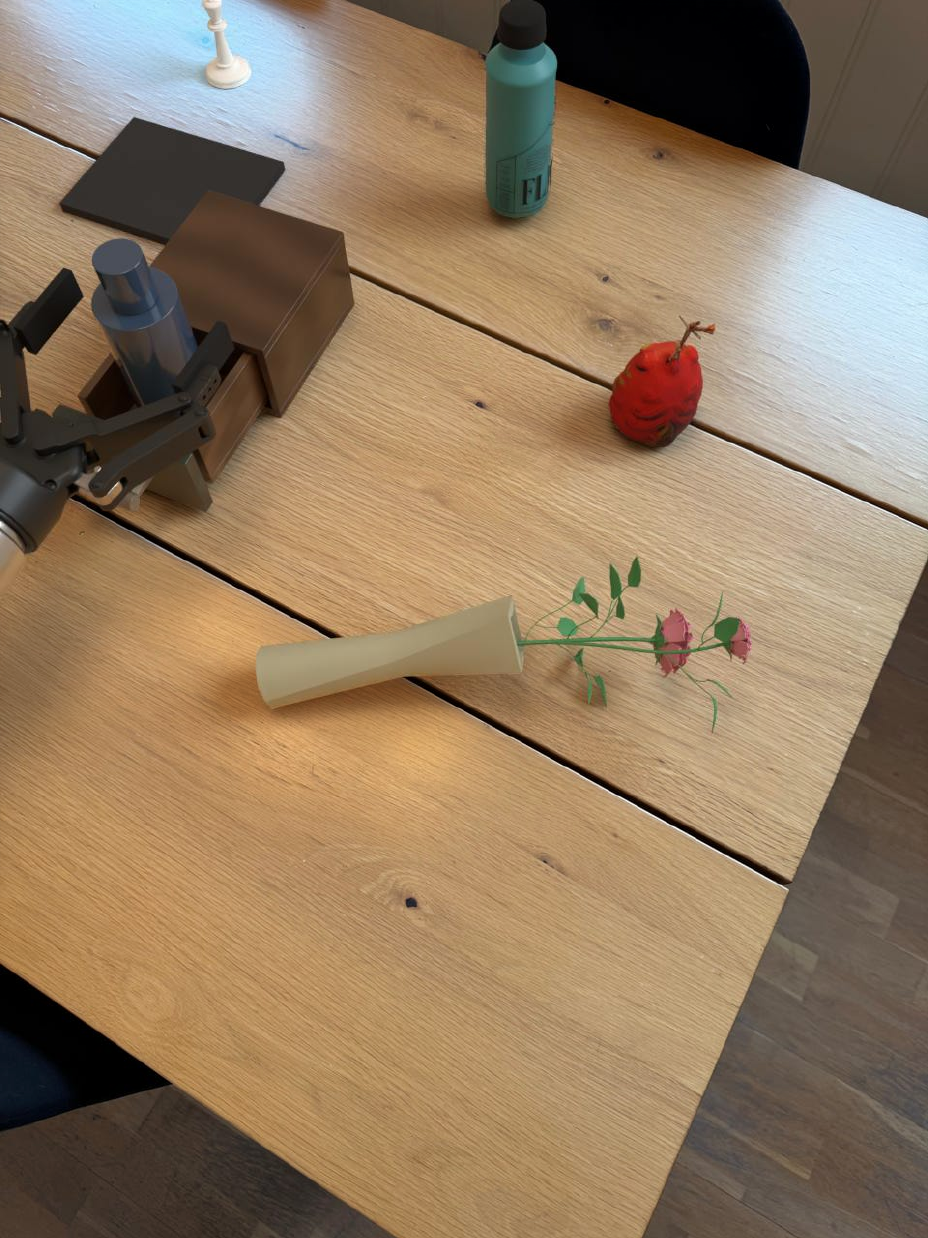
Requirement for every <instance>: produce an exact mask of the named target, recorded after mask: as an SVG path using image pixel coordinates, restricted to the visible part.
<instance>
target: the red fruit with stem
mask: <svg viewBox="0 0 928 1238" xmlns="http://www.w3.org/2000/svg"><path fill="white" fill-rule="evenodd" d="M678 317H679V318H680V320H681V321H682V323H683V324H684V326H685V327H686V329H685V331H684V334H683V336H682V338H681V339H676V340H671V341H670V340H669V341H668V340H667V341H661V342H652V343H646V344H645V345H643V346H642V347H641V348H640V349H639V352H636V354H634V355H633V356H632V358H631V359H630V360H628V362H627V363H626V365H625V367H624V369H623V370H622V371H621V372H619V374H618V375H617V376H615V378H614V379H613V382H612V384H611V395H610V397H609V400H608V409H609V414H610V417H611V420H612V422H613V424H614V426H615V427H616V429H617V430H618V431H620V433H621V434H622V435H624V436H625V437H627V438H628V439H630V440H632V441H635V442H636V443H640V444H643V445H644V444H645V445H648V446H649V447H651V448H654V449H657V448H658V449H659V448H665V447H669V446H670V445H672V444H673V443H674V441H675V440H676V438H677V437H678V436H679V435H680V434H681V433H683V432H684V431H685V430H686V429H687V427H689V426H690V424H691V422H692V421H693V419H694V417H695V416H696V414H697V410H698V404H699V402H700V399H701V396H702V393H703V386H704V380H703V373H702V367H701V364H700V362H699V358H700V357H699V352H698V351H697V349H696V347H695V346H692V345H691V344H689V345H686V344H685V343H686V342H687V341H688V338H689V337H690V335H691V333H692V334H693V335H694V336H695V337H696V338H697V339H699V340H701V338H702V336H700V334H698V332H702V333H706V334H709V335H714V334H715V333H716V324H715V323H713V324H710V325H708V326H700V325H701V321H700V320H697V321H692V322H689V323H688V322H686V320H685V319H684V317H682V315H680V314H679V316H678Z"/></svg>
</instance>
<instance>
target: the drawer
mask: <svg viewBox="0 0 928 1238" xmlns="http://www.w3.org/2000/svg"><path fill="white" fill-rule="evenodd" d="M193 334H194V336H195V339H196V342H197V345H198V347H199V346H200V344H201V343H202V341H203V340H204V339H205V337H203V336H200V335H197V334H195V333H193ZM219 375H220V377H221V382H220V385H219V387H218V388H217V390H216V391H215V395H214V396H213V397H212V399H211V400H210V402H209V403H208V405H207V406H206V408H207V409H208V411H209V414H210V416H211V419H212V422H213V424H214V427H215V430H216V436H215V438H213V439H212V440H211V441H209V442H207V443H206V444H204V445H203V446H201V447H199V448H198V449H196V450H194V451H193V452H191V453H190V454H188V455H186V456H185V457H183V458H182V459H180V460H178V461H177V462H175V463H174V464H172V465H170V466H169V467H167V468H166V469H164V470H162V471H161V472H159V473H158V474H156V475H154V476H153V477H151V478H150V479H148V480H146V481H145V482H143V483H142V484H140V485H138V486H137V487H135V488H134V489H132V490H130V492H129V493H128V494H127V495H126V496H125V497H124V498H123V500H122V501H121V502H120V503H119V504H118V505H117V506H116V508H119V509H123V510H125V511H128V512H130V513H135V512H137V510H138V509H139V508H140V505H141V496H142V494H143V493H144V491H146V490H148V491H150V492H153V493H155V494H157V495H160V496H163V497H165V498H169V499H171V500H174V501H176V502H179V503H180V504H183V505H187V506H190V507H192V508H194V509H197V510H200V511H202V512H205V513H207V512H208V510H209V509H210V507H211V506H212V504H213V502H214V500H213V498H212V495H211V493H210V490H209V488H208V486H207V484H206V483H208V484H211V485H214V483H215V482H216V481H217V479H218V477H219V476H220V475H221V473H222V472H223V470H224V468H225V467H226V466H227V464H228V462H229V461H230V459H231V458H232V456H233V455H234V454H235V452H236V450H237V448H238V447H239V446H240V444H241V443H242V441H243V440H244V438H245V436H246V435H248V432H249V431H250V429H251V427H252V426H253V424H254V423H255V421H256V420H257V419H258V417H259V416H260V414H261V412H263V411H262V409H263V408H264V406H265V405H266V403H267V402H268V400H269V396H268V393H267V389H266V386H265V382H264V379H263V375H262V372H261V369H260V365H259V362H258V358H257V355H256V354H253V353H250V352H247V351H244V350H241V349H238V348H235V347H234V350H233V352H232V353H231V354H230V356H229V357H228V359H227V360H226V362H225V363H224V364H223V366H222V367H221V369H220V370H219ZM77 398H78V400H79V402H80V404H81V406H82V408H83V409H84V411H85V412H83V411H80V410H77V409H75V408H72V407H69V406H67V405H64V404H61V403H59V404H58V405H57V406H56V408H55V409H54V410H53V412H52V413H51V417H54V418H62V419H66V420H68V421H71V422H73V424H74V425H75V426H76V425H79V424H81V423H84V422H87V421H92V422H94V423H99V422H101V421H104V420H107V419H109V418H112V417H115V416H118V415H120V414H123V413H126V412H128V411H131V410H134V409H136V408H137V405H136V403H135V401H134V399H133V397H132V395H131V393H130V391H129V389H128V386H127V384H126V382H125V380H124V378H123V376H122V374H121V372H120V370H119V367H118V365H117V363H116V361H115V359H114V357H113V355H112V353H111V351H110V353H109V354H108V355H107V356H106V357H105V359H103V361H102V362H101V364H100V365H99V367H98V368H97V369H96V371H95V372H94V373H93V375H92V376H91V377H90V378H89V380H88V381H87V382H86V384H85V385H84V386H83V388H82V389H81V390H80V392H78V394H77ZM85 443H86V452H88V451H91V450H93V449H94V447H93V446H92V444H91V443H90V442H88V441H87V442H85ZM118 455H119V454H118ZM115 456H117V455H115ZM115 456H113V457H112V459H113V458H114V457H115ZM104 465H105V464H104ZM104 465H102V466H101V467H103V466H104ZM92 471H93V469H91V470H88V474H90V473H92ZM80 493H81V494H83V493H82V492H80Z"/></svg>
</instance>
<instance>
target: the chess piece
mask: <svg viewBox="0 0 928 1238" xmlns="http://www.w3.org/2000/svg"><path fill="white" fill-rule="evenodd" d="M201 5H202V7H203V9H204V11H205V13H206V14H207V16H208V18H209V20H208V21H207V23H206V28H207V29H208V31H210V32H212V33H213V34H214V42H215V49H216V50H215V51H216V57H215V58H212V59H211V60H210V61H209V62H208V64H207V65H206V68H205V75H206V76H205V78H206V81H207V82H208V84H210V85H211V86H213V87H215V88H217V89H222V90H231V89H235V88H238V87H240V86H242V85H244V84H246V83H247V82H248V81H249V80H250V78H251V75H252V69H251V66H250V63H249V62H248V60H247V59H246V58H244V57H243V56H240V55H238V54H232V50H231V48H230V45H229V44H228V43H229V42H228V40H227V37H226V34H225V31H224V30H226V29H227V28H228V21H227V19H225V18H224V17H222V9H223V8H222V7H223V0H202V2H201Z"/></svg>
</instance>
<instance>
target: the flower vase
mask: <svg viewBox="0 0 928 1238" xmlns="http://www.w3.org/2000/svg"><path fill="white" fill-rule="evenodd" d="M641 581H642V568H641V564H640V560H639V557H638V555H637V556H636V557H635V558H634V560H632V563H631V567H630V570H629V573H628V574H627V585H626V586H625V587H624V588H623V585H622V581H621V578H620V574H619V573H618V571H617V570H616V568H615V567H614V566H613V564H612V562H609V587H610V598H611V599H612V600H611V601H610V605H609V609H608V613H607V616H606V619H605V620H604V622H603V623H602V625H601V626H600V627H599V628H598V629H597V630H596V631H595V632H594V633H593V634H592V635H591V636H590V637H573V636H576V634H577V633H578V631H579V629H580V628H579V627H580V626H582V625H583V624H587V623H588V622H590V621H592V620H594V619H597V620H599V605H600V604H599V602H598V600H597V598H596V597H594V596H593V595H591V594H590V593H586V584H585V583H586V582H585V576H582V577H580V578H579V580H578V581H577V584H576V585H575V587H574V588H573V591H572V597H571V600H570V601H569V602H567V603H566V604H565V605H563V606H560V608H557V609H556V610H554V611H552V612H550V613H548V614H546V615H544V616H543V617H541V618H539V620H537V621H536V622H535V623H534V624H532V626H531V627H530V629H529V630H528V631H527V633H526V635H525V637H524V639H523V636H522V632H521V628H520V623H519V618H518V614H517V609H516V604H515V600H514V596H513V594H509V595H507V596H504V597H500V598H497V599H493V600H491V601H488V602H484V603H481V604H478V605H474V606H471V607H468V608H465V609H462V610H459V611H456V612H452V613H449V614H446V615H443V616H440V617H436V618H433V619H429V620H426V621H424V622H421V623H418V624H414V625H411V626H408V627H404V628H401V629H398V630H395V631H389V632H382V633H381V632H380V633H371V634H360V635H354V636H353V635H352V636H344V637H343V636H342V637H334V638H325V639H316V640H315V639H314V640H306V641H295V642H286V643H285V642H284V643H278V644H276V643H275V644H267V645H260V646H259V649H258V651H257V653H256V655H255V675H256V681H257V687H258V690H259V692H260V695H261V697H262V700H263V702H264V704H266V705H267V707H268V708H270V709H271V710H273V709H277V708H281V707H285V706H289V705H292V704H298V703H301V702H305V701H309V700H313V699H316V698H317V699H318V698H321V697H325V696H329V695H334V694H338V693H342V692H346V691H350V690H353V689H354V690H355V689H358V688H361V687H362V688H363V687H366V686H370V685H374V684H378V683H383V682H386V681H391V680H394V679H398V678H404V677H425V676H427V677H428V676H429V677H430V676H473V675H476V676H478V675H479V676H480V675H519V674H522V671H523V664H524V657H525V652H526V651H525V649H526V647H525V646H537V645H557V646H559V647H560V648H561V649H563V650H565V652H567V653H568V654H570V655H571V657H573V658H574V661H576V664H577V665H578V666H579V669H580V671H581V672H582V673H583V674H584V676H585V677H586V680H587V706H589V704H590V702H591V698H592V696H593V695H592V694H593V693H592V692H593V684H592V681H591V678H593V680H594V681H595V683H596V685H597V687H598V688H599V690H600V692H601V695H602V698H603V699H602V700H603V702H604V705H605V708H607V707H608V705H607V703H608V702H607V691H606V687H605V682H604V680H603V678H602V676H601V675H600V674H598V675H594V676H593V675H592V674H590V673H589V672H588V671H587V670H586V669H585V668H584V663H583V654H584V649H585V648H584V647H594V648H595V647H596V648H605V649H614V650H615V649H616V650H621V651H630V652H637V653H645V654H653V655H654V658H655V659H656V660H655V665H654V666H657V665H658V664H659V665H660V666H661V669H660V670H661V672H664V674H665V675H663V676H662V679H664V678H667V676H668V675H669V674H670V673H671V672H672V671H673V672H672V674H673V675H675V674H676V673H677V672H678V671H679V669H680V670H681V671H682V672H683V673H684V674H685V675H686V676H687V677H688V678H689V679H690V680H691V681H692V682H693V683H694V684H695V685H697V686H698V687H699V688H700V689H701V690H702V691H704V692H705V693H706V694H708V695H709V696H710V698H711V700H712V703H713V708H714V709H713V720H712V727H711V734H712V735H713V733H714V730H715V726H716V722H717V714H718V702H717V699H716V698H715V697H714V696H713V695H712V694H711V693H709V692H708V691H707V690H705V688H703V687H702V686H701V685H700V684H698V683H697V682H699V683H706V682H711V683H713V684H715V685H717V686H718V687H719V688H720V689H721V690H723V692H725V694H726V695H728V696H729V697H730V698H732V695H731V694H730V692H729V691H728V690H727V688H725V687H724V686H723V685H722V684H721V683H720V682H718V681H716V680H714V679H710V678H707V679H706V680H705V679H704V680H699V679H696V678H694V677H693V676H691V675H690V674H689V673H688V672H687V671H686V670H684V669H683V667H684V666H685V665H686V664H687V663H688V660H687V658H689V657H690V656H691V654H693V653H697V652H698V653H699V652H702V651H708V650H712V649H717V648H720V647H723V648H724V649H725V651H726V653H727V654H728V655H729V658H730V662H732V660H733V656H735V657H738V659H739V660H740V659H742V660H743V662H742V663H741V664H742V665H744V664H746V663H748V656H749V653H750V652H751V650H752V645H753V642H752V641H751V639H752V634H751V627H750V625H748V624H746V623H745V622H744V621H743V619H742V618H741V617H740V615H738V616H735V617H732V616H728V617H726V618H723V619H721V620H719V621H718V619H719V617H720V613H721V609H722V606H723V599H724V598H723V596H724V591H722V592H721V595H720V601H719V605H718V608H717V612H716V615H715V616H714V617H715V618H714V619H713V621H712V622H711V623H710V624H709V625H708V626H707V627H706V628H705V629H704V631H703V632H702V634H701V644H699V646H697V647H696V648H692V647H691V646H689V644H691V642H692V641H693V640H694V633H693V632H690V630H691V629H692V624H691V623H690V622H688V621H687V619H686V617H685V614H684V612H681V611H680V610H679V609H678V608H677V607H675V608H674V610H675V611H674V610H673V609H670V610H669V615H668V617H666V618H665V619H664V620H663V621H662V619H661V618H660V616H659V615H658V614H657V613H655V617H656V622H657V624H656V628H655V632H654V635H652V637H636V636H635V637H633V636H595V635H597V633H598V632H600V630H601V629H602V628H603V627H604V626H605V625H606V623H608V622H609V621H610V620H611V619H612V618H613V617H615V618H618V619H621V620H624V618H625V616H626V611H625V605H624V603H623V600H622V597H621V595H622V594H623V592H624V591H625V590H626V589H627V588H636V589H638V588H639V586H640V584H641ZM614 601H615V602H614ZM572 602H574V603H575V604H576V605H579V606H581V605H582V604H583V603H584V604H585V605H586V606H587V608H588V609H590V611H591V612H592V613H593V615H594V616H593V617H592V618H590V619H588V620H586V621H584V622H582V623H580V624H578V625H577V624H576V622H575V621H574V619H572V618H569V617H567V616H566V617H564V616H563V617H560V618H559V621H558V623H557V625H556V626H543V625H539V624H538V623H539V622H541V620H543V619H545V618H546V617H549V616H550V615H552V614H554V613H556V612H558V611H559V610H562V609H563V608H565V607H567V606H568V605H570V604H571V603H572ZM613 602H614V604H613ZM612 604H613V607H612ZM614 608H615V615H612V613H613V611H614ZM535 626H537V627H540V628H543V629H545V628H546V629H548V628H549V629H550V628H551V629H553V628H555V629H557V630H558V631H559V633H560V634H561V636H562V637H563V638H554V639H551V638H550V639H535V640H534V639H533V640H526V639H527V638H528V635H529V634H530V632H531V630H532V629H533V628H534V627H535ZM713 626H714V628H713V629H714V630H713V636H712V637H710V638H708V639H706V640H705V641H704V640H703V639H704V634H705V633H706V631H707V630H708V629H709V628H711V627H713ZM564 637H565V638H564ZM571 637H572V638H571ZM712 639H717V640H718V641H720V642H719V643H715V644H712V645H706V646H703V645H704V644H706V643H707V642H709V641H711V640H712ZM599 642H600V643H599ZM601 642H602V643H601ZM603 642H606V643H603ZM607 642H636V643H637V642H642V643H649V644H651V645H652V647H653V648H652V649H646V648H638V647H631V646H625V645H624V646H623V645H617V644H616V645H615V644H607ZM562 645H564V646H565V645H567V646H584V647H581V648H580V649H579V650H578V651H577V652H576V654H575V655H573V654H572V653H571V652H570V651H569V650H568V649H566V648H565V647H563V646H562Z"/></svg>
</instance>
